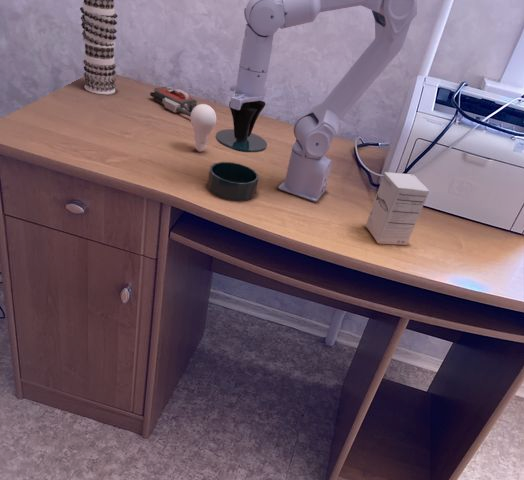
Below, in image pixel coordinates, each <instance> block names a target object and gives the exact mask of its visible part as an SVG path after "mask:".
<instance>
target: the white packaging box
mask: <svg viewBox="0 0 524 480" xmlns="http://www.w3.org/2000/svg"><path fill="white" fill-rule="evenodd" d="M429 193H430V189H429V188H428V187H426V186H425V184H424V183H422V181H421V180H420V179H419V178H417V176H416V175H415V174H411V173H401V172H390V171H385V172H384V173H383V175H382V178H381V181H380V183H379V186H378V189H377V193H376V195H375V197H374V201H373V203H372V205H371V209H370V211H369V215H368V218H367V220H366V224H365V228H367V230H368V231H369V233H370V234H371V235H372V237H373V238H374V240H375V241H376V243H377V244H382V245H397V246H398V245H399V246H407V245H408V244H409V240H410V238H411V236H412V233H413V230H414V229H415V226H416V224H417V221H418V219H419V217H420V215H421V212H422V210H423V207H424V205H425V203H426V200H427V199H428V195H429Z"/></svg>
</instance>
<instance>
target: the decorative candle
mask: <svg viewBox="0 0 524 480" xmlns="http://www.w3.org/2000/svg"><path fill="white" fill-rule="evenodd" d="M79 9H80V12H81V14H82V15H81V17H80V20H81V24H80V26H81V28H82V29H83V30H82V33H81V35H82V37H83V38H82V42H83V43H84V58H83V59H84V60H83V64H84V65H83V70H84V73H83V77H84V80H83V83H84V85H83V86H84V87H83V88H84V89H85V91H88V92H90V93H93V94H97V95H113V94H115V93H116V87H117V86H116V85H117V84H116V76H115V75H116V70H115V69H116V67H117V65H116V63H115V48H116V46H117V45H116V42H115V40H117V36H116V35H115V34H116V33H117V32H118V31H117V29H116V28H115V27H114V26H115V25H117V24H118V21H116V19H117V18H118V14H117V13H115V11H116V9H115V0H83V2H82V6H81V7H79Z"/></svg>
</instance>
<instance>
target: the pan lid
mask: <svg viewBox="0 0 524 480" xmlns="http://www.w3.org/2000/svg"><path fill="white" fill-rule="evenodd" d="M249 127H250V125H249ZM248 133H249V128H248V132H247V135H246V137H245V139H244V140H240V139H237V138H235V136H234V128H231V129H229V128H228V129H221V130H218V131H217V132H216V133H215V140H216V142H218V143H219V144H220V145H222V146H224V147H226V148H228V149H230V150H233V151H237V152H240V153H260V152H264V151H265V150H266V149H267V147H268V142H267V141H266V140H265V139H264V138H263V137H262V136H260V135H257V134H255V133H253V132H251V134H250V136H249V137H248Z"/></svg>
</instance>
